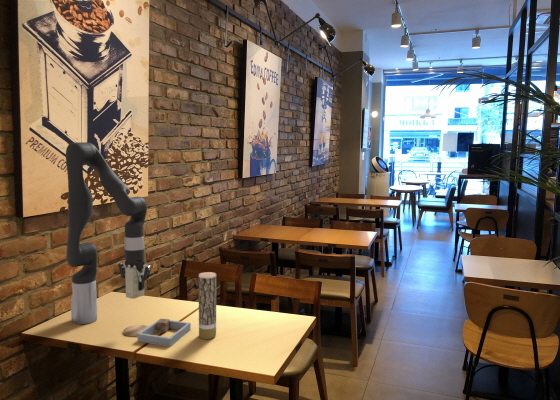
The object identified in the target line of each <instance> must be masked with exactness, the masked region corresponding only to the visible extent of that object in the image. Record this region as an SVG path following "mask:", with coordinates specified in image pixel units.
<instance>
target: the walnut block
mask: <svg viewBox="0 0 560 400" xmlns="http://www.w3.org/2000/svg"><path fill="white" fill-rule="evenodd" d="M170 320H171V319H169V318H159V319H158V320H156V321H157V330H156V333H168V331H169V330H170V329H171V328H170Z"/></svg>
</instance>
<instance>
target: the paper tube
mask: <svg viewBox="0 0 560 400" xmlns="http://www.w3.org/2000/svg"><path fill="white" fill-rule="evenodd" d="M216 335H217V273H216V272H212V271H208V272H207V271H206V272H205V271H204V272H200V273H199V274H198V336H199V337H200V338H201V339H202V340H203V339H205V340H210V339H213V338H214V337H216Z"/></svg>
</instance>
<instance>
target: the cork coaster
mask: <svg viewBox="0 0 560 400" xmlns="http://www.w3.org/2000/svg"><path fill="white" fill-rule="evenodd" d="M147 327H149V326H148V325H143V324H135V325H129V326H127V327H125V328H124V329H123V330H122V331H123V333H122V334H123V335H124V336H127V337H138V333H140V332H141V331H143V330H144V329H146V328H147Z"/></svg>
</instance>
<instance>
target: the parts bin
mask: <svg viewBox="0 0 560 400" xmlns="http://www.w3.org/2000/svg"><path fill="white" fill-rule="evenodd" d="M157 321H158V320H156V321H154V322H153V323H151V324H150V325H149V326H148V327H147V328H146V329H144V330H143V331H141V332H140V333H138V336H137V342H139V343H146V344H152V345H159V346H164V347H172V346H173V345H174V344H176V343H177V342H178V341H179V340H180V339H182V338H183V337H184V336H185V335H186V334H188V333H189V332H190V331H191V329H192V328H191V322H186V321H177V320H171V319H170V329H172V330H173V329H174V330H177V331H176V332H174V333H173V334H172V335H171V336H169V337H167V336H163V335H157V334H156V335H155V334H153V333H155V332H157Z"/></svg>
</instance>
